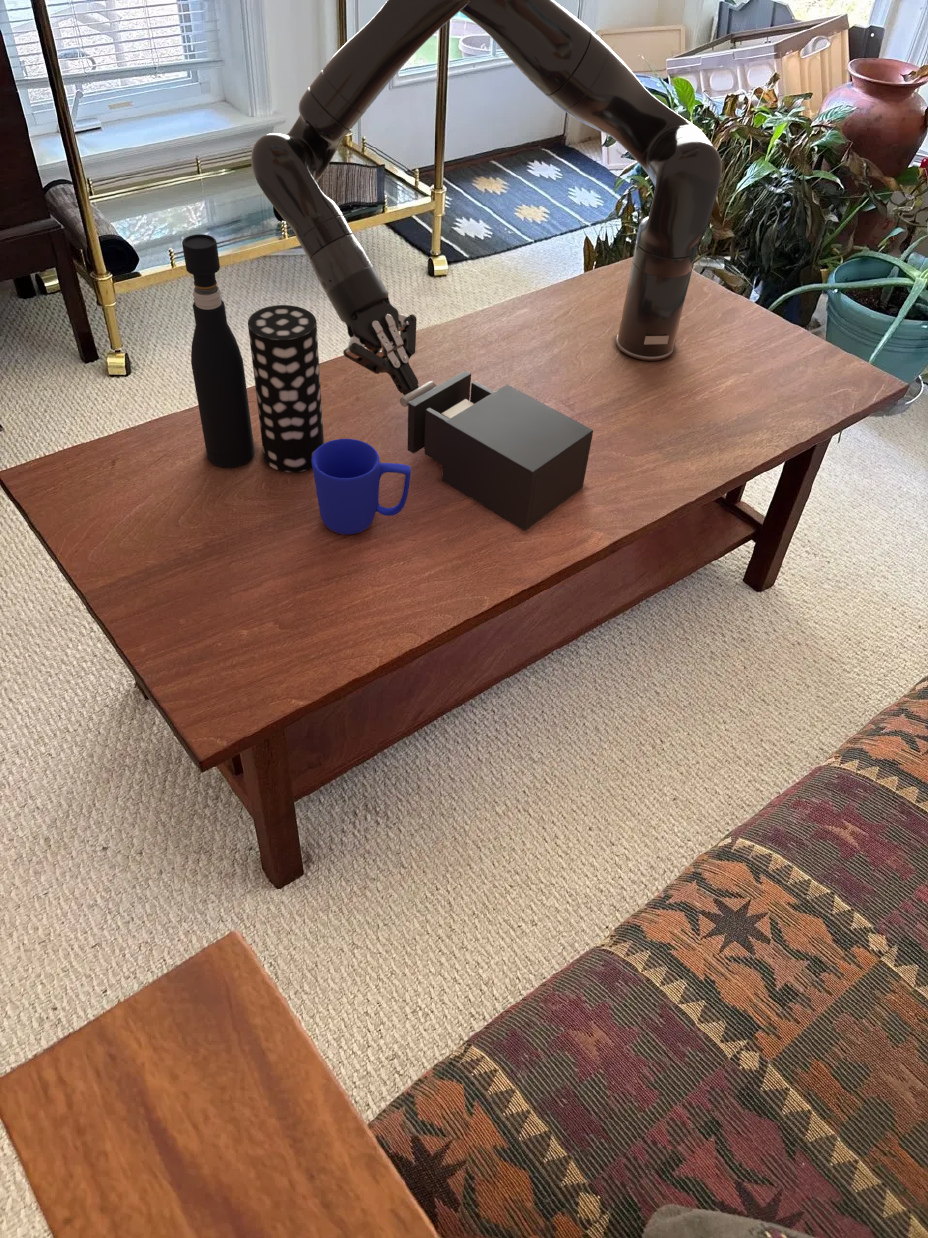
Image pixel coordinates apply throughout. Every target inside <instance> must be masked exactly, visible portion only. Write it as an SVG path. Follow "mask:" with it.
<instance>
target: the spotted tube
mask: <svg viewBox="0 0 928 1238" xmlns="http://www.w3.org/2000/svg"><path fill="white" fill-rule="evenodd" d="M317 322H318V321H317V319H316V316H315V315H314V314H313V313H312V312H311V311H309V310H308V309H306V308H303V307H300V306H295V305H290V304H277V305H269V306H266V307H262V308H260V309H258V310H256V311H255V312H253V313H252V314H251V315H250V316H249V318H248V319H247V329H248V336H249V337H248V338H249V345H250V354H251V361H252V370H253V371H252V372H253V380H254V386H255V395H256V403H257V412H258V419H259V420H258V421H259V429H260V436H261V444H262V452H263V454H262V455H263V459H264V461H265V463H266V464H267V465H268V466H269V467H271V468H272V469H275V470H277V471H280V472H284V473H301V472H306V471H309V470H313V468H312V462H311V459H312V455H313V453H314V451H315V450H316V449H317V448H318V447H319V446H321V445H322V444H324V443H325V437H324V422H323V407H322V406H323V405H322V389H321V373H320V357H319V342H318V341H319V339H318V325H317V324H318V323H317Z"/></svg>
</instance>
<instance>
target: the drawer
mask: <svg viewBox="0 0 928 1238" xmlns="http://www.w3.org/2000/svg"><path fill="white" fill-rule="evenodd" d="M493 392H495V390H492V389H490V388H489V387H488V386H485V385H483V384H481V383H480V382H478V381H476V380H473V381H472V373H471V372H469V371H467V370H462V371H461V372H459V373H458V374H455V375H454V376H452V377H451V378H449V379H447V380H445V381H444V382H442V383H440V384H438V385H436V383H435V381H433V380H429V381H428V382H425V383H424V384H422V385H420V386H419V388H417V389H415V390H413V391H412V392H410V393H408V394H406V395H405V396H404V395H402V396H401V397H400V398H399V404H400V405H401V406H402V407H404V408H406V407H407V449H406V450H407V451H408V452H410V453H411V454H416V453H417V452H420V450H422V449H423V453H424V455H425V456H426V457H428V458H430V459H432V461H435V462H436V463H438V464H439V465H441V466H443V452H444V432H445V421H447V420H449V418H447V417H445V416H443V415H442V414H441V413H443V412H445V411H446V410H448V409H450V408H451V407H453V406H455V405H456V404H458V403H460V402H461V401H463V400H465V399H467V400H468V401H470V402H472V403H474V404H475V403H477V402H479V401H480V400H482V399H483V398H485V397H487V396H488V395H490V394H492V393H493Z"/></svg>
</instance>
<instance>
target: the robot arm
mask: <svg viewBox="0 0 928 1238" xmlns="http://www.w3.org/2000/svg"><path fill="white" fill-rule="evenodd" d="M378 10H379V11H378V12H377V13H376V14H375V15H374V16H373V17H372V18H371V19H370V20H369V21H368V22H367V23H366V24H365V25H364V26H363V27H362V28H361V29H360V30H359V31H357V33H356V34H355V35H353V36H352V37H351V38H350V39H349V40H348V41H346V42H345V44H344V45H342V46H341V48H340V49H338V50H337V52H335V54H333V56H332V57H331V59H330V60H329V61H328V62H327V63H326V64H325V66H324V67H323V68H322V69H321V71H320V72H319V73H318V75H317V76H316V77H315V78H314V80H313V81H312V83H310V85H309V86H308V87H307V89H306V90H305V92H304V93H303V95H302V96H301V98H300V100H299V102H298V112H299V115H298V118H297V119H296V121H295V122H294V124H293V126H292V127H291V129H290V130H289V131H288V132H287V134H283V133H277V132H272V133H266V134H265V135H262V136H261V137H259V138H258V139H257V140H256V141H255V143H254V144H253V146H252V150H251V152H250V164H251V169H252V173H253V175H254V176H253V177H254V179H255V180H256V182H257V184H258V186H259V188H260V190H261V191H262V193H263V195H264V196H265V197H266V199H267V200H268V201H269V202H270V204H271V205H272V206H273V208H274V209H275V210H276V211H277V213H278V214H279V215H280V216H281V218H282V219H283V220H284V221H285V222H286V224H288V226H289V227H290V228H291V230H292V231H293V233H294V235H295V238H296V239H297V241H298V243H299V244H300V247H301V248H302V250H303V252H304V253H305V255H306V257H307V259H308V261H309V262H310V263H309V264H311V267H312V269H313V271H314V274H315V276H316V279H317V280H318V282H319V285H320V286H321V287H322V289H323V291H324V293H325V295H326V297H327V298H328V300H329V302H330V303H331V305H332V307H333V309H334V310H335V312H336V314H337V316H338V317H339V320H340V321H341V322H342V323H344V324H345V325H346V329H347V334H348V336H349V338H350V339H349V341H348V345H347V347H346V348H345V349H343V356H344V357H345V358H347V359H349V360H351V361H352V362H354V363H356V364H358V365H359V366H361V367H363V368H364V369H366V370H369V371H370V372H372V373H374V374H375V375H379V374H383V373H385V374H388V375H389V377H390V378H391V379H392V382H393V383H394V386H395V387H396V389H397V391H398V392H399V393H400V394H402V396H405V395H406V394H408V393H410V392H412V391H413V390H415V389H417V388H419V387H420V386H419V379H418V378H417V376H416V374H415V373H414V371H413V369H412V366H411V365H410V363H409V362H410V359H411V357H412V356H414V355H415V354H416V346H417V345H416V344H417V319H418V318H417V316H416V315H415V314H409V315H405V314H402V313H399V310H398V308H396V306H394V305H393V304H392V302H391V301H390V297H389V291H388V290H387V288H386V286H385V285H384V283H383V280H382V279H381V277H380V276H379V273H378V271H377V270H376V268H375V266H374V264H373V262H372V261H371V259H370V257H369V255H368V253H367V252H366V250H365V248H364V246H362V244H361V243H360V241H359V240H358V239H357V237H356V235H355V234H354V232H353V230H352V229H351V226H350V225H349V223H348V221H347V219H346V217H345V216H344V214H343V212H342V210H341V208H340V207H339V205H337V203H336V202H335V201H334V200H332V199H331V198H330V197H328V196H327V195H326V194H325V193H324V192H323V191H322V189H321V188H320V186H319V184H318V183H317V182H319V180H320V179H321V177H322V176H323V174H324V173H325V172H326V170H327V169H328V166H329V165H330V163H331V162H332V160H333V158H334V156H335V155H336V152H337V151H338V148H339V147H340V144H341V142H342V141H343V139H344V138H345V137H346V136H347V135H348V134H349V133H350V132H351V130H352V129H353V128H354V127H355V125H356V124H357V123H358V122H359V120H361V118H362V117H363V116H364V114H365V113H366V112H367V110H369V108H370V107H371V106H372V104H373V103H374V102H375V101H376V99H377V98H378V97H379V95H380V94H381V93H382V92H383V91H384V89H385V88H386V87H387V86H388V85H389V84H390V82H391V81H392V80H393V78H394V77H395V76H396V75H397V74H398V73H399V71H400V70H401V69H402V68H403V67H404V66H405V64H406V63H408V61H409V60H410V59H411V58H412V57H413V56H414V55H415V53H417V51H418V50H419V49H420V48H422V46H423V45H425V43H426V42H428V40H430V39H431V37H432V36H434V35H435V34H436V33H437V32H438V31H439V30H440V29H442V27H444V26H445V25H446V24H447V23H448V22H449V21H451V20H452V19H453V18H454V17H455V16H456V15H458V13H461V14H462V15H463V16H465V17H467V18H468V19H469V20H470V21H472V22H473V23H475V24H476V25H477V26H478V27H479V28H481V29H482V30H483V31H484V32H485V33H486V34H488V35H489V36H490V38H491V39H492V40H494V42H495V43H496V44H497V45H498V46H499V48H500V49H501V50H502V51H503V52H504V53H505V55H506V56H507V57H508V58H509V59H510V60H511V62H512V63H513V64H514V65H515V66H516V68H518V69H519V70H520V72H521V73H522V74H523V75H524V76H525V77H526V78H527V79H528V80H529V81H530V82H531V83H532V84H533V85H534V86H535V87H536V88H537V89H538V90H539V91H540V92H541V93H542V94H544V96H546V97H547V98H548V99H549V100H551V101H552V102H553V103H554V104H555V105H557V106H558V107H559V108H560V109H562V111H564V112H565V113H567V114H568V115H570V116H571V117H572V118H574V119H575V120H577V121H578V122H581V123H582V124H584V125H586V126H588V127H591V128H593V129H594V130H597V131H599V132H601V133H603V134H605V135H607V136H609V137H610V138H612V139H613V140H615V141H616V142H617V143H618V144H619V145H621V147H622V148H624V150H625V151H627V152H628V153H629V154H630V155H631V157H632V158H634V160H635V161H636V162H637V163H638V164H639V166H640V167H641V168H642V169H643V170H644V172H645V173H646V175H648V177H649V179H650V180H651V182H652V184H653V186H654V191H653V195H652V196H653V197H652V200H651V205H650V208H649V209H650V210H649V213H648V216H646V217H645V218H643V219H641V222H640V223H639V226H638V230H637V234H636V241H635V246H634V249H633V255H632V261H631V267H630V271H629V277H628V282H627V286H626V293H625V298H624V303H623V307H622V312H621V317H620V322H619V327H618V333H617V335H616V340H615V343H616V347H617V348H618V350H619V351H620V352H622V353H623V354H625V355H626V356H628V357H631V358H633V359H637V360H642V361H650V362H651V361H660V360H664V359H667V358H668V357H670V356H671V355H672V354H673V352H674V349H675V341H676V338H677V334H678V330H679V326H680V322H681V317H682V313H683V309H684V304H685V301H686V296H687V293H688V289H689V286H690V281H691V276H692V273H693V268H694V263H695V260H696V256H697V252H698V248H699V244H700V241H701V240H702V239H703V237H704V235H705V234H706V232H707V230H708V227H709V224H710V221H711V218H712V217H711V216H712V213H713V210H714V208H715V204H716V199H717V197H718V192H719V189H720V184H721V180H722V172H723V164H722V158H721V155H720V153H719V151H718V150H717V148H716V147H715V146H714V144H713V143H712V142H711V141H710V139H709V138H708V136H707V135H706V134H705V133H704V132H703V130H702V129H700V128H699V127H698V126H697V125H695V124H693V123H692V122H691V121H689V120H688V119H686V118H684V117H683V116H681V115H680V114H678V113H677V112H676V111H674V110H673V109H671V108H669V106H667V105H666V104H665V103H663V102H662V101H660V100H659V99H658V98H657V97H656V96H654V95H653V94H652V93H651V92H650V91H649V90H648V89H646V87H645V86H644V85H643V83H642V82H641V81H640V80H639V78H638V77H637V76H636V75H635V74H634V72H633V71H632V70H631V69H630V68H629V66H628V65H627V64H626V63H625V62H624V61H623V59H622V58H621V57H619V56H618V54H616V53H615V51H613V49H612V48H611V47H610V46H609V45H608V44H607V43H605V42H604V40H602V39H601V38H600V36H598V35H597V34H596V33H595V32H594V31H593V30H591V28H589V27H588V26H587V25H586V24H585V23H584V22H582V21H581V20H580V19H579V18H577V17H576V16H575V15H574V14H572V13H571V12H570V11H568V10H567V9H566V8H565V7H563V6H561V5H560V4H559V3H558V2H556V1H555V0H386V2H385V3H384V4H383V5H382V7H381V8H380V9H378Z"/></svg>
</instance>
